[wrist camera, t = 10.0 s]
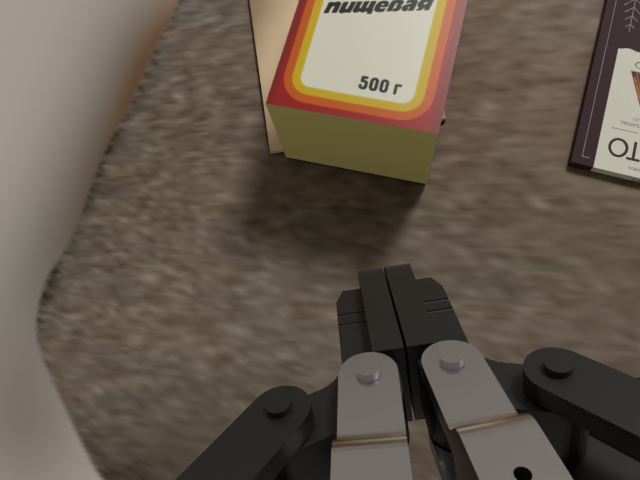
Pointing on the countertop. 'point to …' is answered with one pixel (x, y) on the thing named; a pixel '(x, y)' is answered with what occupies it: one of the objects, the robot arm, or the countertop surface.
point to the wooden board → (272, 49)
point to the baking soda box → (366, 83)
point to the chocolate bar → (612, 97)
